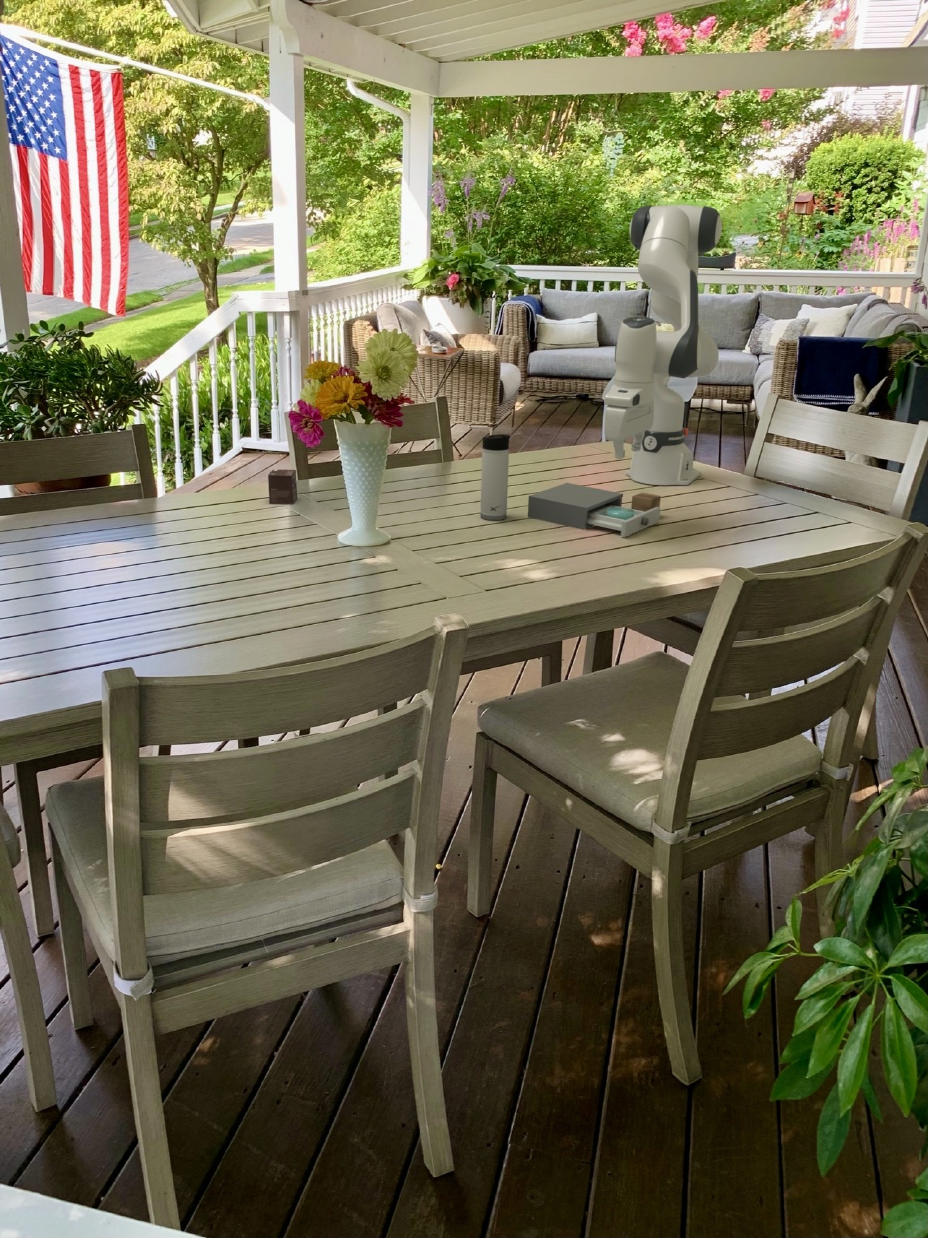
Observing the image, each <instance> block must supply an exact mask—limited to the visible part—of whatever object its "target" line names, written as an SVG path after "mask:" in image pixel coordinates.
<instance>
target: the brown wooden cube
mask: <svg viewBox="0 0 928 1238" xmlns="http://www.w3.org/2000/svg"><path fill="white" fill-rule="evenodd" d="M661 497H662V496H661V495H659V494H658V495H657V494H652V493H649V492H648V493H647V492H639V493H637V494H635V495H632V498H631V507H630V509H634V510H639V511H643V512H646V511H648V510H650V509H652V508H655V507H660V508H661Z"/></svg>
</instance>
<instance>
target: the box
mask: <svg viewBox="0 0 928 1238" xmlns="http://www.w3.org/2000/svg"><path fill="white" fill-rule="evenodd" d="M267 481H268V498H269V499H268V500H269V504H274V505H275V504H276V505H277V504H278V505H279V504H280V505H281V504H284V505H285V504H286V505H294V504H295V502H296V501H297V500H298V487H297V486H298V484H297V470H296V469H272V470H271V471H270V472H269V473H268V475H267Z"/></svg>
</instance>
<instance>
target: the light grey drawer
mask: <svg viewBox="0 0 928 1238" xmlns="http://www.w3.org/2000/svg"><path fill="white" fill-rule="evenodd" d="M613 507H619V506H614V505H610V506H606V505H601V506H599V507H596V508H594V509H591V510H589V511H588V517H587V524H592V525H595V526H599V527H602V528H606V529H610V530H615V531H616V530H617V531H619V532H620V537H621V536H622V537H621V538H626V536H627V535H629V536H631V535H633V534H635V532H636V533H637V532H639V530H640V531H641V530H644V529H646V528H648V527H651V526H653V525H655V524H658V523H659V522H660V513H661V506H660V507H655V508H652V509H650V510H648V511H646V512H643V511H639V510H634V509H632V510H634V517H632V518H629V519H627V520H622V519H618V518H613V517H608V516H606V514H607V509H609V508H613ZM622 507H623V506H622ZM623 508H625V507H623ZM632 533H633V534H632ZM630 534H631V535H630ZM627 537H628V536H627Z"/></svg>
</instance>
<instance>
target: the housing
mask: <svg viewBox="0 0 928 1238" xmlns="http://www.w3.org/2000/svg"><path fill="white" fill-rule="evenodd" d="M623 497H624V494H623V493H621V492H618V491H611V490H606V489H601V488H595V487H590V486H585V485H580V484H576V483H569V482H564V483H563V484H559V485H556V486H553V487H550V488H547V489H545V490H542V491H539V492H536V493H533V494H531V495H530V494H529V495H528V504H527V505H528V507H527V518H530V519H531V518H532V519H535V520H540V521H543V522H544V521H545V522H549V523H552V522H553V523H554V524H558V525H561V524H562V525H563V526H566V525H568V526H567V527H570V526H571V528H575V527H576V529H579V528H580V529H581V530H584V529H586V530H588V529H590V528H589V527H591V528H592V526H593V527H595V526H594V525H592V524H587V517H588V511H589V510H591V509H594V508H596V507H599V506H601V505H606V506H610V505H614V506H619V507H623V506H622V504H623ZM562 525H561V526H562Z"/></svg>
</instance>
